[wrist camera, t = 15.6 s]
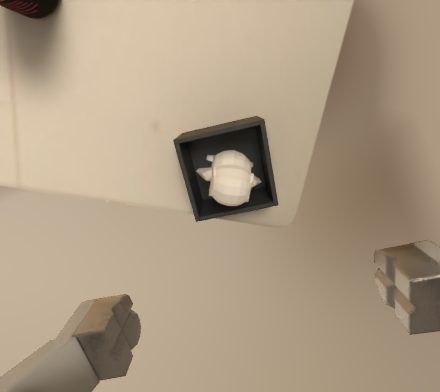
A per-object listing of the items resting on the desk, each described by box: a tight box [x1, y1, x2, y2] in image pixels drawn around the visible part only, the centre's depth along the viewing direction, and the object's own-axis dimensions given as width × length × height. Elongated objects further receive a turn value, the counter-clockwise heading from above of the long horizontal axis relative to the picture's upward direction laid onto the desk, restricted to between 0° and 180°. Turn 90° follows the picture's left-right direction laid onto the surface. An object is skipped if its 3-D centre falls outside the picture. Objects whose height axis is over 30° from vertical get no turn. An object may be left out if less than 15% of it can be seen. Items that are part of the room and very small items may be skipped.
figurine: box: [196, 150, 261, 206], centre depth 30 cm, size 8×5×12 cm, turn 80°
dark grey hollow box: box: [173, 116, 278, 222], centre depth 33 cm, size 10×10×6 cm
